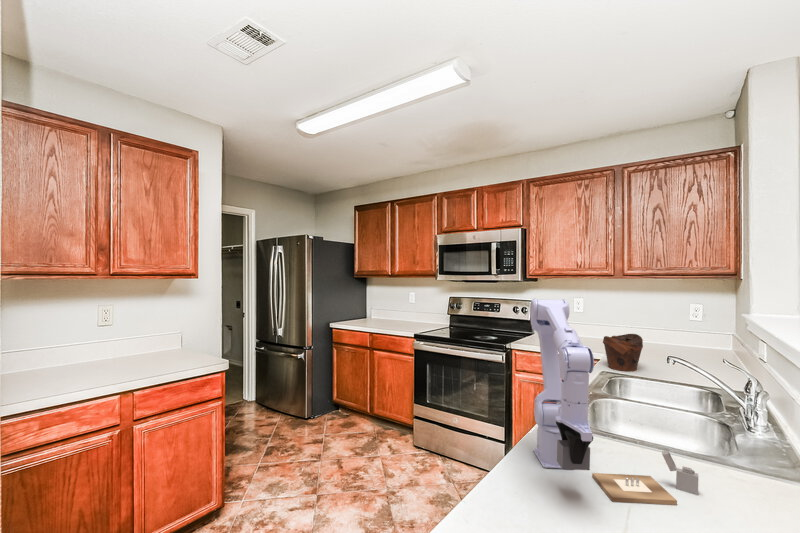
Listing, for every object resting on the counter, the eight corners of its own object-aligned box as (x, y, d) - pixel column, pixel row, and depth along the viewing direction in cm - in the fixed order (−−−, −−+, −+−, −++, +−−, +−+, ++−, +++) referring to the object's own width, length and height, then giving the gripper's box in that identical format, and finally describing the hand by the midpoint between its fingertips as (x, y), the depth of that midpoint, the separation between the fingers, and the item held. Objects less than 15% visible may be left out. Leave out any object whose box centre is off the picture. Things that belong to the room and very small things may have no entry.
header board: (592, 476, 96) (592, 465, 96) (650, 479, 96) (650, 468, 96) (612, 501, 86) (612, 489, 86) (677, 505, 86) (677, 492, 86)
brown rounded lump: (597, 368, 199) (599, 334, 199) (606, 361, 214) (608, 329, 214) (637, 376, 187) (639, 339, 187) (644, 368, 203) (646, 334, 202)
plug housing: (556, 460, 91) (557, 439, 91) (582, 462, 90) (583, 440, 90) (562, 469, 87) (562, 446, 87) (589, 470, 87) (590, 448, 87)
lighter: (697, 491, 91) (698, 458, 91) (697, 495, 89) (698, 460, 89) (661, 481, 95) (662, 448, 95) (661, 484, 94) (661, 451, 94)
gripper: (546, 388, 96) (545, 442, 96) (568, 410, 81) (567, 474, 82) (575, 389, 96) (574, 444, 96) (603, 412, 81) (601, 476, 81)
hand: (573, 458), depth 89 cm, fingers closed on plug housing, 4 cm apart
